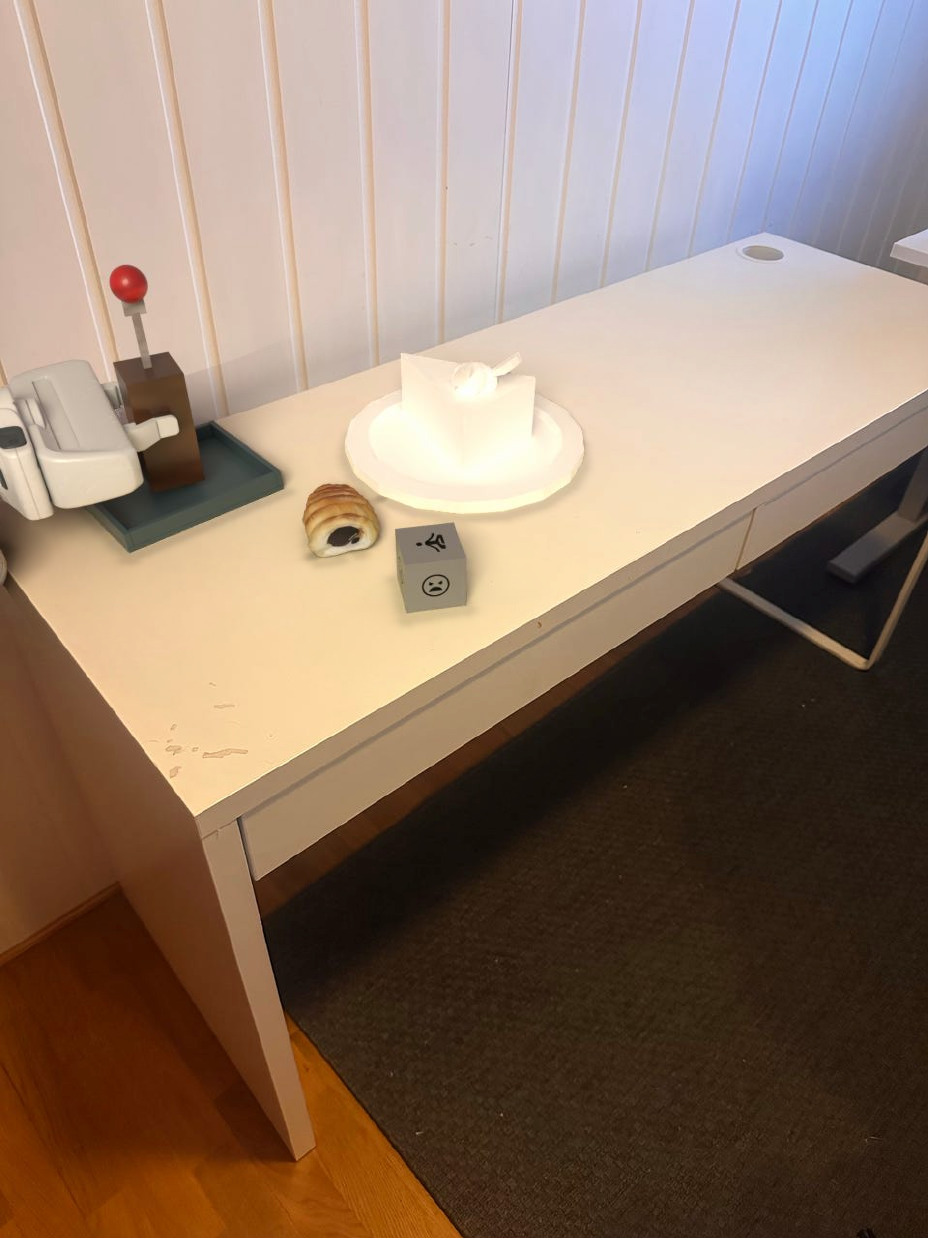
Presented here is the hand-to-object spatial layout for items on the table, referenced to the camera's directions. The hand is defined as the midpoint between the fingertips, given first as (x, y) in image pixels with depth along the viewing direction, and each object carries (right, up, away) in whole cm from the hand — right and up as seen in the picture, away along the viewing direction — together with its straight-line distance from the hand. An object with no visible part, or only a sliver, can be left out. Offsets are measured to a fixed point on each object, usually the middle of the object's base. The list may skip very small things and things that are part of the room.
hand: (166, 406), depth 82 cm
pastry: (+16, -12, +1) cm, 20 cm away
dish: (+27, -1, +12) cm, 30 cm away
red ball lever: (-1, -5, +4) cm, 7 cm away
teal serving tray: (-1, -7, +5) cm, 9 cm away
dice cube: (+24, -17, -6) cm, 30 cm away
